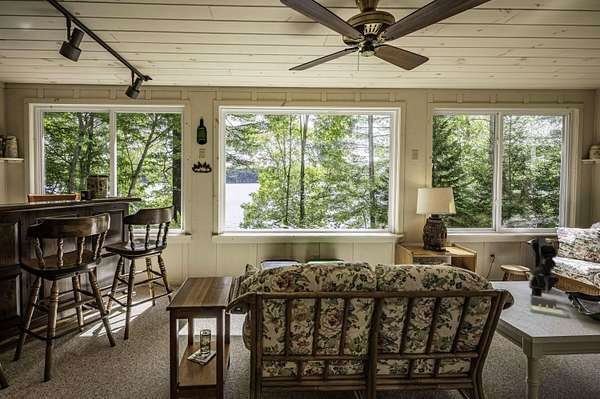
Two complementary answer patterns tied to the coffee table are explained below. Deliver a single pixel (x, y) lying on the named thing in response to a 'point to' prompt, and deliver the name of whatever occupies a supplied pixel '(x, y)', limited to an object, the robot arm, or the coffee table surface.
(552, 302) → the panel
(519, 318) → the coffee table surface
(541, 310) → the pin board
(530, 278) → the stack of blocks
